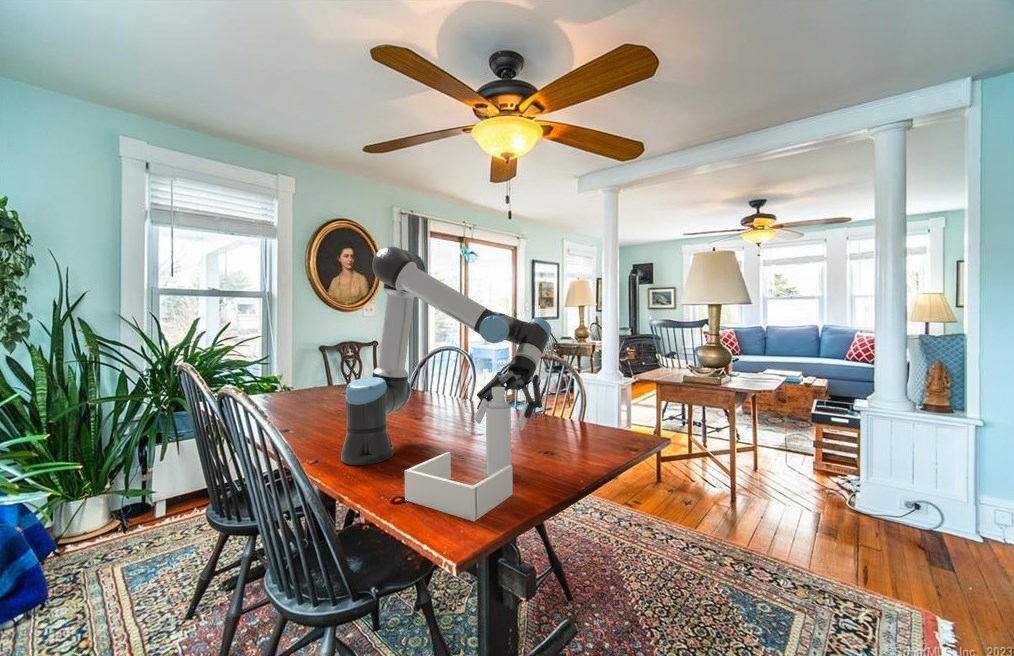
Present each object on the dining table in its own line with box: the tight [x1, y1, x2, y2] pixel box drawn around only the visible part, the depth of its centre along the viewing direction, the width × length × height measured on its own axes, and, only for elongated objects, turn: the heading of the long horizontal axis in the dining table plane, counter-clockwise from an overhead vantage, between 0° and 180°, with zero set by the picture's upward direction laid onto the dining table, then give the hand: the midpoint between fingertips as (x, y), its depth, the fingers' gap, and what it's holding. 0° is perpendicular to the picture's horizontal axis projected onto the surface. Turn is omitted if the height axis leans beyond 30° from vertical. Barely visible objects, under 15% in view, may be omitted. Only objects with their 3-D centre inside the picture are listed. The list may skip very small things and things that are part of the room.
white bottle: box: [485, 387, 512, 477], centre depth 115 cm, size 7×7×25 cm
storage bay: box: [404, 451, 514, 522], centre depth 101 cm, size 20×16×7 cm
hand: (497, 424), depth 114 cm, fingers open, 13 cm apart
